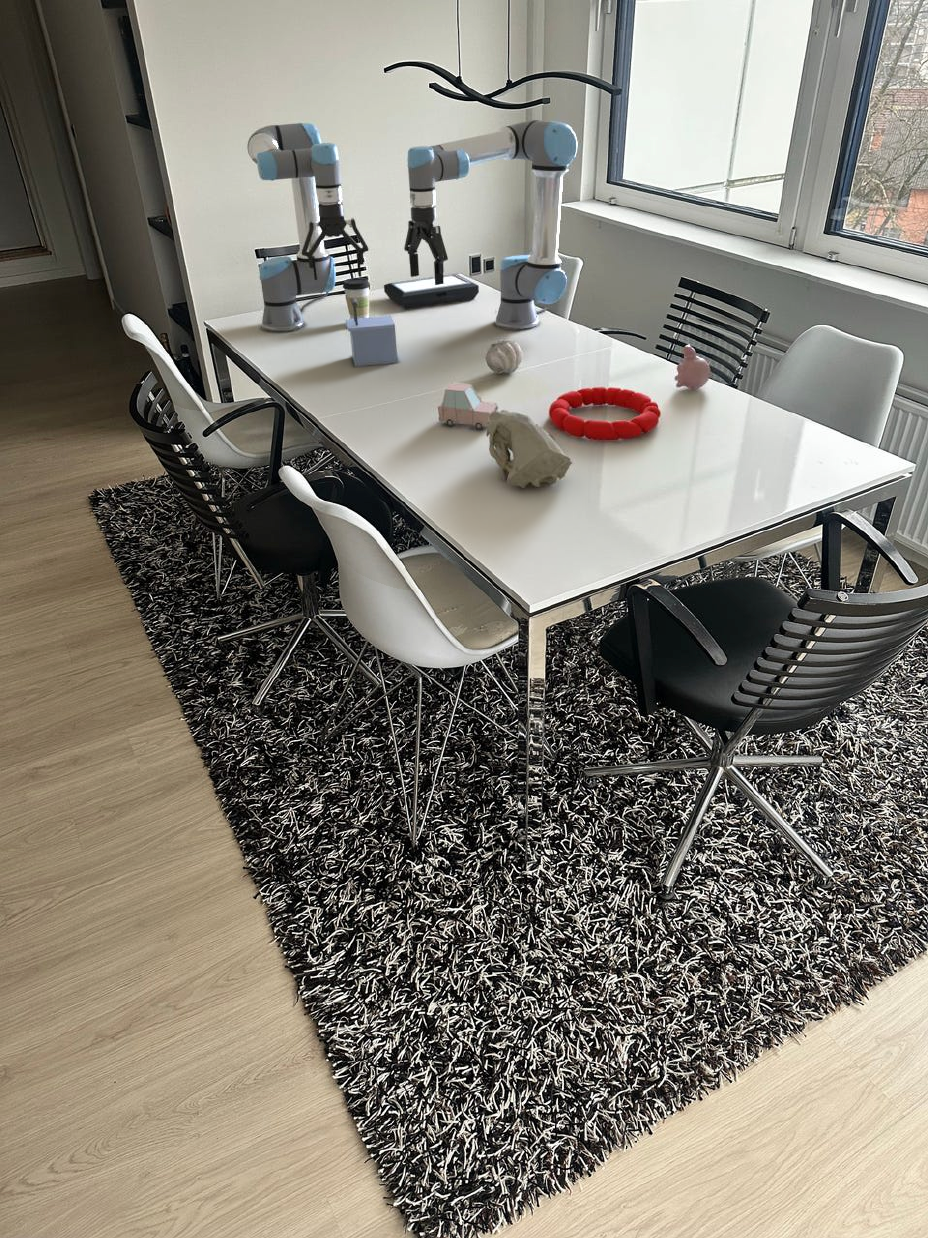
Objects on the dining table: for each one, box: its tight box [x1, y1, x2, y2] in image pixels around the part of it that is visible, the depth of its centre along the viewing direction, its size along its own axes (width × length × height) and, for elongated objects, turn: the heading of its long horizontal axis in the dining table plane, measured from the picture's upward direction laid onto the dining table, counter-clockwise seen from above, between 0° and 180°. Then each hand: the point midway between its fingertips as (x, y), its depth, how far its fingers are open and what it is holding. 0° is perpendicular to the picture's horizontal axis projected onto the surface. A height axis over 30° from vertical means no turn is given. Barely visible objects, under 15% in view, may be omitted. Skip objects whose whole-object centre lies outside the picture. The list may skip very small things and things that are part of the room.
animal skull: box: [485, 409, 573, 489], centre depth 216 cm, size 17×25×20 cm
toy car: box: [437, 382, 499, 431], centre depth 243 cm, size 9×15×10 cm, turn 70°
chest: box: [349, 327, 398, 367], centre depth 290 cm, size 14×10×11 cm
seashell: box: [485, 339, 523, 374], centre depth 276 cm, size 10×15×10 cm
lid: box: [345, 298, 396, 333], centre depth 284 cm, size 15×10×8 cm
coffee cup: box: [342, 277, 371, 319], centre depth 323 cm, size 10×10×15 cm
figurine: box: [674, 344, 711, 390], centre depth 259 cm, size 9×11×12 cm
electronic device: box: [383, 273, 480, 311], centre depth 349 cm, size 32×6×20 cm
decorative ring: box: [548, 386, 661, 442], centre depth 242 cm, size 7×30×30 cm
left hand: (337, 277), depth 275 cm, fingers open, 13 cm apart
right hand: (426, 280), depth 276 cm, fingers open, 13 cm apart
